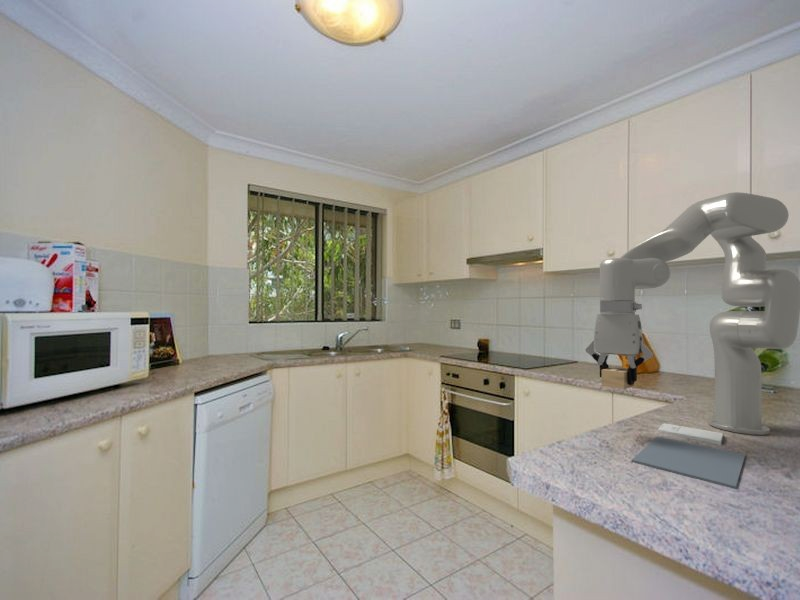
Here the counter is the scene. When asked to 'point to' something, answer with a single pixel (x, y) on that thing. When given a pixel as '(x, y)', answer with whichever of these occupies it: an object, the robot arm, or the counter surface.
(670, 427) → the external hard drive
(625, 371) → the taped cardboard box
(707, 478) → the mat
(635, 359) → the robot arm
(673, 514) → the counter surface
